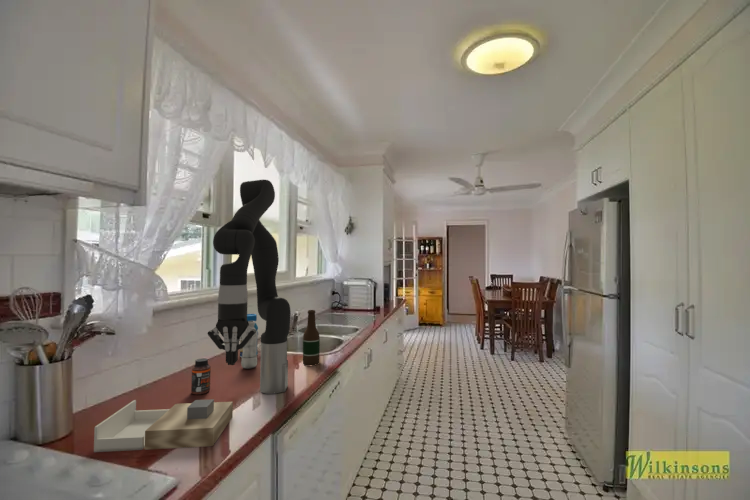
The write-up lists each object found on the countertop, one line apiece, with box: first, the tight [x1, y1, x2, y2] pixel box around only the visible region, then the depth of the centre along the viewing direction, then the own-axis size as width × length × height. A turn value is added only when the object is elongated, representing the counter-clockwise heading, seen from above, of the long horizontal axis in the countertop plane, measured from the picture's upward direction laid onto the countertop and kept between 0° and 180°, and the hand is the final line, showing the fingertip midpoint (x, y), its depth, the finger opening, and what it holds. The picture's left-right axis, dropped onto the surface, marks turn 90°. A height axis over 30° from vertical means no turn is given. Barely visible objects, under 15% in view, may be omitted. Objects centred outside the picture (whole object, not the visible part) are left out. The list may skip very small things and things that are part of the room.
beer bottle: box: [302, 309, 321, 366], centre depth 154 cm, size 8×8×24 cm
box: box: [93, 399, 170, 453], centre depth 91 cm, size 11×16×6 cm
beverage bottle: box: [239, 313, 259, 359], centre depth 166 cm, size 8×8×20 cm
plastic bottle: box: [240, 321, 258, 370], centre depth 148 cm, size 6×7×20 cm
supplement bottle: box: [190, 357, 211, 396], centre depth 120 cm, size 6×6×11 cm
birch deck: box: [144, 401, 234, 450], centre depth 93 cm, size 16×16×4 cm
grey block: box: [187, 398, 215, 419], centre depth 93 cm, size 5×5×3 cm
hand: (231, 364), depth 94 cm, fingers closed
